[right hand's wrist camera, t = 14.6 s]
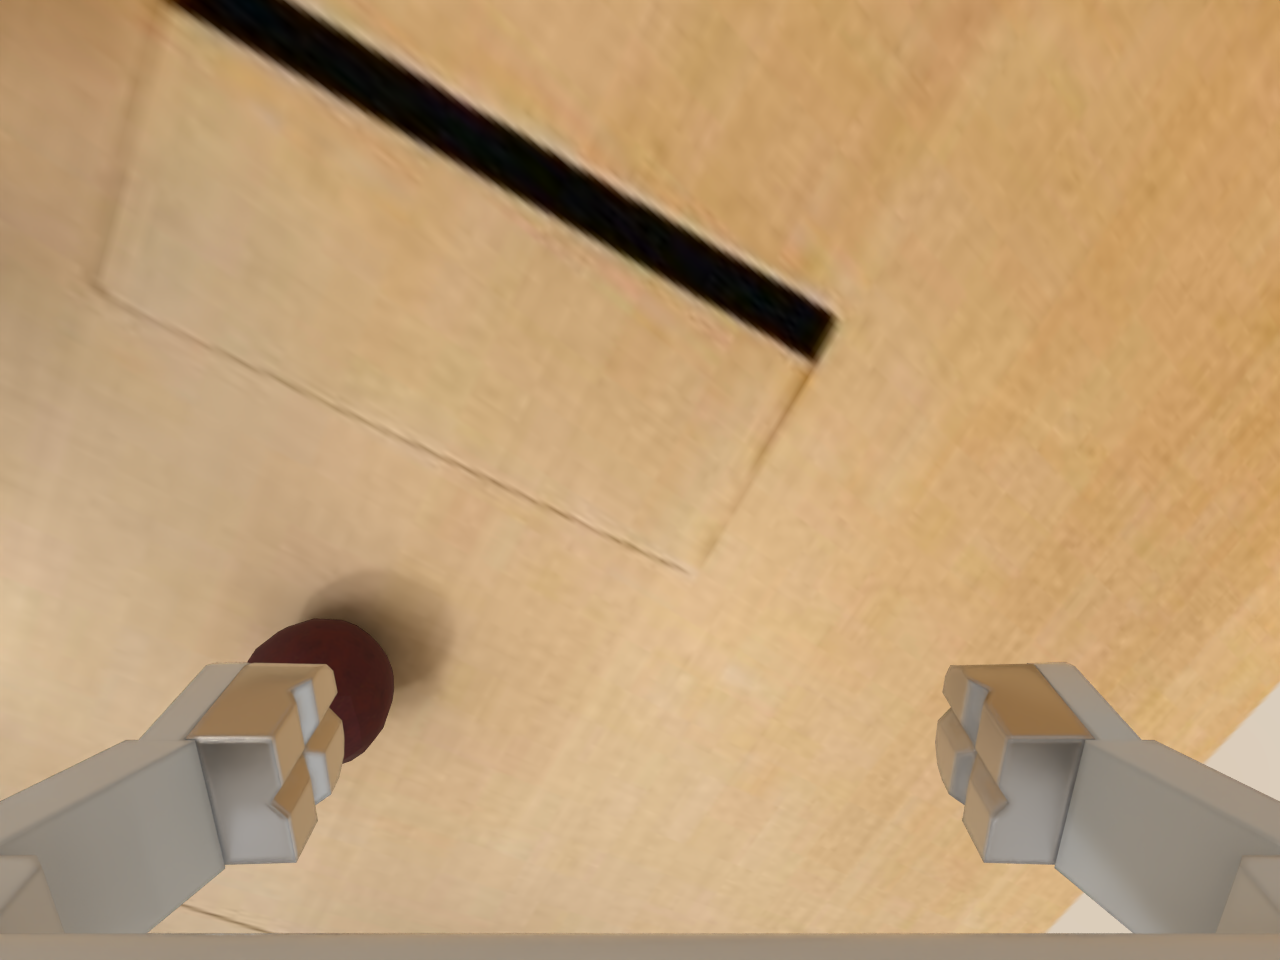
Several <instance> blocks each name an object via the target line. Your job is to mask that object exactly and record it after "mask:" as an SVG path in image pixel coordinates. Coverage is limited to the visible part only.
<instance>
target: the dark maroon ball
mask: <svg viewBox="0 0 1280 960" xmlns="http://www.w3.org/2000/svg"><path fill="white" fill-rule="evenodd" d="M248 663H251V664H252V663H288V664H327V665H328V666H329V667H330V668H331V669H332V670H333V672H334V677H335V682H336V687H337V694H336V696H335V698H334V699H333V701H332V703H331V704H330V706H329V708H330V709H331V710H332V711H333V712H334V713H335V714H336V715H337V716H338V717H339V718H340V719H341V720H342V724H343V731H344V758H343V762H342V764H343V763H346V762H349V761H351V760H353V759H354V758H356V757H357V756H359V755H360V754H362V753H363V752H365V750H366V749H367V748H368V747H369V746H370V744H371V743H372V742H373V741H374V739H375V738H376V737H377V735H378V734H379V733H380V731H381V730H382V729H383V727H384V724H385V721H386V718H387V715H388V712H389V709H390V706H391V703H392V699H393V693H394V678H393V671H392V667H391V665H390V662H389V660H388V657H387V655H386V654H385V652H384V651H383V649H382V648H381V647H380V645H379V644H378V643H377V642H376V641H375V640H374V639H373V638H372V637H371V636H370V635H369V634H368V633H366V632H365V631H364V630H362V629H361V628H359V627H358V626H357V625H354V624H351V623H349V622H346V621H343V620H331V619H311V620H308V621H305V622H302V623H298V624H295V625H292V626H289V627H286V628H285V629H283V630H281V631H279V632H277V633H276V634H275V635H274V636H272V637H271V638H270V639H268V640H267V641H266V642H264V643H263V644H262V645H260V646H259V647H258V648H257V649H256V650H255V651H254V653H253V654H252V656H251V657H250V659H249V660H248Z"/></svg>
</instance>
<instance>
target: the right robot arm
mask: <svg viewBox="0 0 1280 960" xmlns="http://www.w3.org/2000/svg"><path fill="white" fill-rule="evenodd" d="M336 694H337V687H336V682H335V677H334V672H333V670H332V669H331V668H330V667H329V666H328V665H327V664H288V663H252V664H251V663H248V662H244V663H213V664H210V665H206V666H205V667H204V668H203V669H202V670H201V671H200V673H199V674H198V675H197V676H196V677H195V678H194V679H193V680H192V681H191V683H190V684H189V685H188V686H187V687H186V688H185V689H184V690H183V691H182V692H181V694H180V695H179V696H178V697H177V698H176V699H175V700H174V701H173V702H172V703H171V705H170V706H169V707H168V708H167V709H166V710H165V711H164V712H163V713H162V714H161V716H160V717H159V718H158V719H157V720H156V721H155V722H154V723H153V724H152V726H151V727H150V728H149V729H148V730H147V731H146V732H145V733H144V734H143V735H142V737H141V738H140V739H139V740H125V741H123V742H121V743H119V744H117V745H115V746H113V747H111V748H109V749H107V750H105V751H102V752H100V753H98V754H96V755H94V756H92V757H90V758H88V759H86V760H84V761H82V762H80V763H78V764H76V765H74V766H72V767H70V768H68V769H66V770H64V771H62V772H59V773H57V774H55V775H53V776H51V777H49V778H47V779H45V780H43V781H41V782H39V783H37V784H35V785H33V786H31V787H29V788H27V789H25V790H23V791H21V792H18V793H16V794H14V795H12V796H10V797H8V798H6V799H4V800H2V801H0V960H1280V801H1278V800H1275V799H1273V798H1271V797H1269V796H1267V795H1265V794H1263V793H1261V792H1259V791H1257V790H1255V789H1253V788H1251V787H1249V786H1247V785H1245V784H1243V783H1241V782H1239V781H1237V780H1235V779H1233V778H1231V777H1228V776H1226V775H1224V774H1222V773H1220V772H1218V771H1216V770H1214V769H1212V768H1210V767H1208V766H1206V765H1204V764H1202V763H1200V762H1198V761H1196V760H1194V759H1192V758H1190V757H1188V756H1186V755H1184V754H1182V753H1180V752H1177V751H1175V750H1173V749H1171V748H1169V747H1167V746H1165V745H1163V744H1161V743H1159V742H1157V741H1155V740H1141V739H1140V738H1139V737H1138V735H1137V734H1136V733H1135V732H1134V731H1133V730H1132V729H1131V728H1130V727H1129V726H1128V724H1127V723H1126V722H1125V721H1124V720H1123V719H1122V718H1121V717H1120V716H1119V714H1118V713H1117V712H1116V711H1115V710H1114V709H1113V708H1112V707H1111V706H1110V705H1109V703H1108V702H1107V701H1106V700H1105V699H1104V698H1103V697H1102V696H1101V695H1100V694H1099V692H1098V691H1097V690H1096V689H1095V688H1094V687H1093V686H1092V685H1091V684H1090V682H1089V681H1088V680H1087V679H1086V678H1085V677H1084V676H1083V675H1082V674H1081V673H1080V671H1079V670H1078V669H1077V668H1076V667H1075V666H1073V665H1071V664H1068V663H1066V662H1052V663H1027V664H999V665H950V667H949V669H948V671H947V673H946V675H945V681H944V686H943V694H944V696H945V698H946V699H947V701H948V703H949V704H950V706H951V708H950V709H949V710H948V711H947V712H946V713H945V714H944V715H943V716H942V717H941V718H940V719H939V720H938V724H937V732H936V741H935V745H936V756H937V765H938V768H939V772H940V775H941V778H942V781H943V783H944V785H945V787H946V789H947V791H948V793H949V795H951V796H952V797H954V798H955V799H957V800H958V801H959V802H961V803H962V804H964V805H965V807H964V813H963V819H962V821H963V823H964V825H965V827H966V829H967V831H968V833H969V835H970V837H971V839H972V841H973V843H974V845H975V846H976V848H977V850H978V852H979V854H980V856H981V858H982V860H983V862H984V863H1016V864H1052V865H1055V869H1056V870H1058V871H1059V872H1060V873H1061V874H1063V875H1064V876H1065V877H1066V878H1067V879H1069V880H1070V881H1071V882H1072V883H1073V884H1075V885H1076V886H1077V887H1078V888H1079V889H1081V890H1082V891H1083V892H1084V893H1085V894H1087V895H1088V896H1089V897H1090V898H1091V899H1093V900H1094V901H1095V902H1096V903H1097V904H1099V905H1100V906H1101V907H1102V908H1104V909H1105V910H1106V911H1107V912H1108V913H1110V914H1111V915H1112V916H1113V917H1114V918H1116V919H1117V920H1118V921H1119V922H1120V923H1122V924H1123V925H1124V926H1125V927H1126V928H1128V929H1129V930H1130V931H1131V932H1132V933H1096V934H1095V933H1089V934H1088V933H1087V934H1086V933H1080V934H1079V933H1077V934H1076V933H1071V934H1070V933H1067V934H1066V933H1061V934H1060V933H1058V934H1057V933H1056V934H1055V933H1051V934H1050V933H1008V934H560V933H322V934H160V933H148V932H149V931H150V930H151V929H153V928H154V927H155V926H156V925H157V924H159V923H160V922H161V921H162V920H163V919H165V918H166V917H167V916H168V915H170V914H171V913H172V912H173V911H174V910H176V909H177V908H178V907H179V906H180V905H182V904H183V903H184V902H185V901H186V900H188V899H189V898H190V897H191V896H192V895H194V894H195V893H196V892H197V891H199V890H200V889H201V888H202V887H203V886H205V885H206V884H207V883H208V882H209V881H211V880H212V879H213V878H214V877H215V876H217V875H218V874H219V873H220V872H221V871H223V870H224V869H225V865H228V864H263V863H296V862H297V860H298V858H299V856H300V854H301V852H302V850H303V849H304V847H305V845H306V843H307V841H308V839H309V837H310V835H311V833H312V831H313V829H314V827H315V825H316V823H317V821H318V819H317V813H316V807H315V805H316V804H318V803H319V802H321V801H322V800H323V799H325V798H326V797H328V796H329V795H331V793H332V791H333V789H334V787H335V785H336V783H337V781H338V779H339V776H340V771H341V767H342V762H343V758H344V731H343V724H342V720H341V719H340V718H339V717H338V716H337V715H336V714H335V713H334V712H333V711H332V710H331V709H330V708H329V706H330V704H331V703H332V701H333V699H334V698H335V696H336Z"/></svg>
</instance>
